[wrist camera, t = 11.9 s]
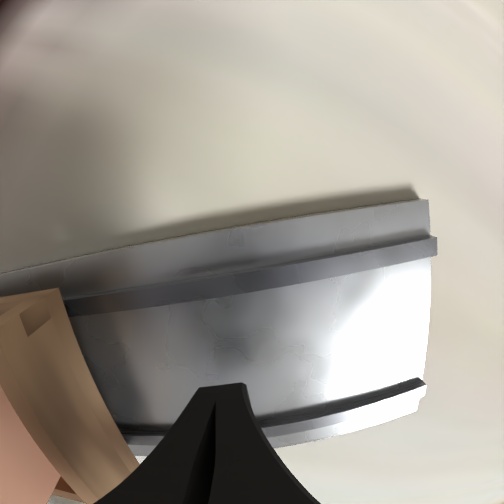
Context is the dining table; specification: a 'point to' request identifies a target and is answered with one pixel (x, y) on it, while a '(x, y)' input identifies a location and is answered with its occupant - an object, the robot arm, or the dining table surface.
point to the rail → (257, 320)
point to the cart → (59, 397)
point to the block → (22, 462)
